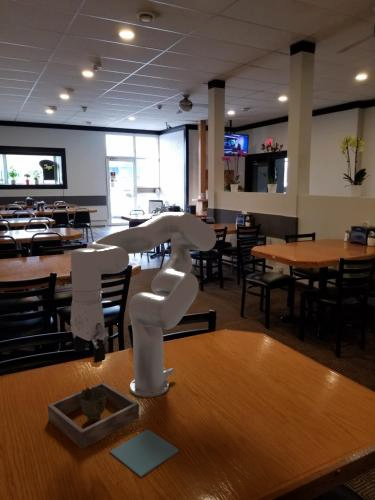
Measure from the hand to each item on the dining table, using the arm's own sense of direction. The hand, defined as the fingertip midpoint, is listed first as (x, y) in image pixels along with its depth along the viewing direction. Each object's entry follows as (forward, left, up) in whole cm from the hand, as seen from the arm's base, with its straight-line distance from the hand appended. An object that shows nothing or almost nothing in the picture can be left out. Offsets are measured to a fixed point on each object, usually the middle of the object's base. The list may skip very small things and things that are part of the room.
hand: (89, 355), depth 105 cm
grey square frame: (0, 0, -19) cm, 19 cm away
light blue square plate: (-1, +21, -19) cm, 28 cm away
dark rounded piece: (0, 0, -19) cm, 19 cm away
